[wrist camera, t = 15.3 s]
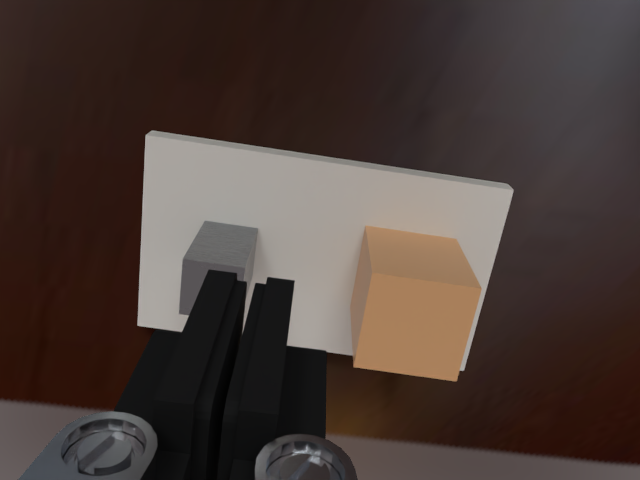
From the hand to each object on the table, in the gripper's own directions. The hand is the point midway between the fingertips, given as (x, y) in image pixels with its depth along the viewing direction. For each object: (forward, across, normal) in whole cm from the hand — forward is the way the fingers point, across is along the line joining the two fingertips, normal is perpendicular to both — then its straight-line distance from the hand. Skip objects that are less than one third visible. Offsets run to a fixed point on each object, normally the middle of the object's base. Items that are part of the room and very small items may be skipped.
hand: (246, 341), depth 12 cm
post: (+29, +4, +11) cm, 32 cm away
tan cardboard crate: (+28, -8, +11) cm, 31 cm away
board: (+29, -2, +11) cm, 31 cm away
